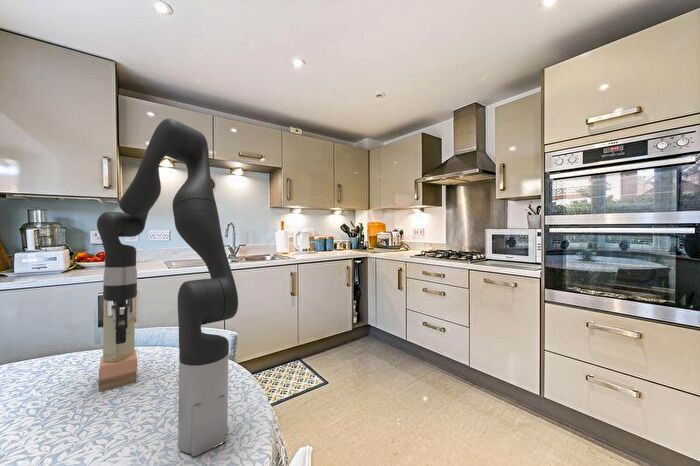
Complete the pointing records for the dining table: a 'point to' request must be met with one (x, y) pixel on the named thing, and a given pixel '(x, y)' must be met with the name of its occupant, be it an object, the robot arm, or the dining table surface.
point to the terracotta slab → (118, 366)
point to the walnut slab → (116, 381)
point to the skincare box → (110, 348)
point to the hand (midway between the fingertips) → (119, 338)
